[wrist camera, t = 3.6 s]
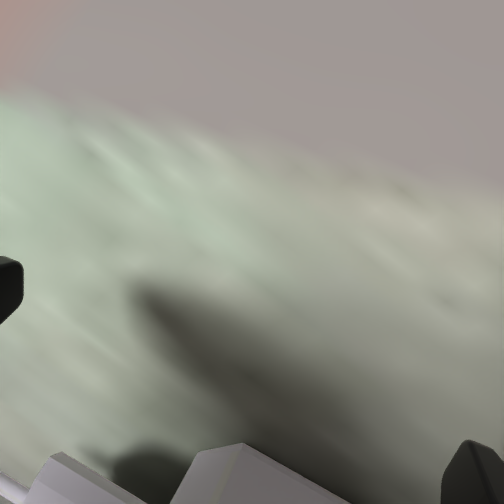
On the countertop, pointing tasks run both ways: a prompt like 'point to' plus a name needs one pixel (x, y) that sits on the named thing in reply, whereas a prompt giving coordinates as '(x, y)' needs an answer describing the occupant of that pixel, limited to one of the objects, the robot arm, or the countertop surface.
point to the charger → (190, 490)
